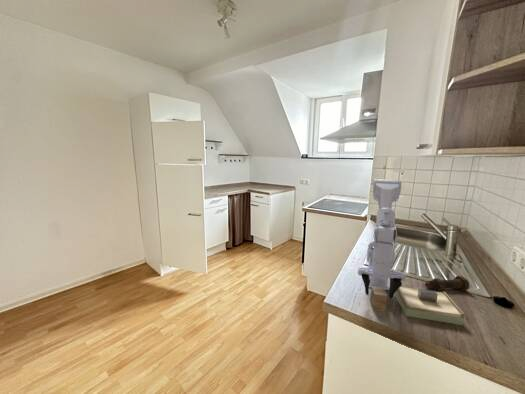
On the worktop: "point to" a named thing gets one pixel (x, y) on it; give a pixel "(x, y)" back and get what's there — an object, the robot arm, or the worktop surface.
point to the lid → (429, 302)
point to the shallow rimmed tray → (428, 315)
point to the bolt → (448, 284)
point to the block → (378, 298)
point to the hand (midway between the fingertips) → (378, 295)
